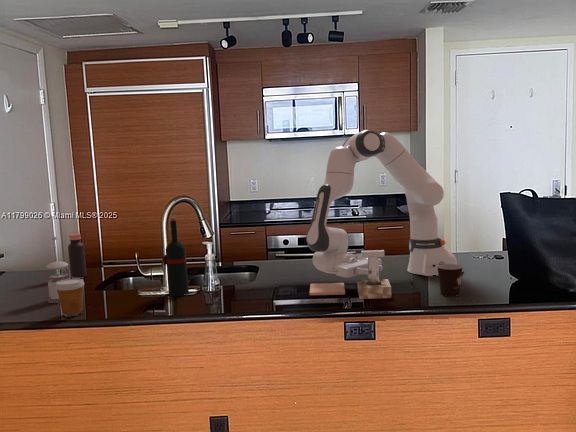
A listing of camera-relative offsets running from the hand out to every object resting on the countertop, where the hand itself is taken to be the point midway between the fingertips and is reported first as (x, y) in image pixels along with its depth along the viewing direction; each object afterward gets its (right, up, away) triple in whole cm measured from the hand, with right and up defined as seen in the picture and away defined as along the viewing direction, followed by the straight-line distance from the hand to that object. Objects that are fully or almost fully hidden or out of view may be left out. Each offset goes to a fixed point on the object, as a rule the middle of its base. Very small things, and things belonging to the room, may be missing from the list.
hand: (375, 270), depth 195 cm
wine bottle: (-75, -11, +15) cm, 78 cm away
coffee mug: (+28, -8, -2) cm, 29 cm away
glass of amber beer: (-107, -15, -6) cm, 108 cm away
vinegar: (-127, -9, +51) cm, 137 cm away
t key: (0, -9, +2) cm, 9 cm away
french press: (-119, -13, +15) cm, 121 cm away
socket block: (0, -9, +2) cm, 9 cm away
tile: (-17, -9, +10) cm, 21 cm away
